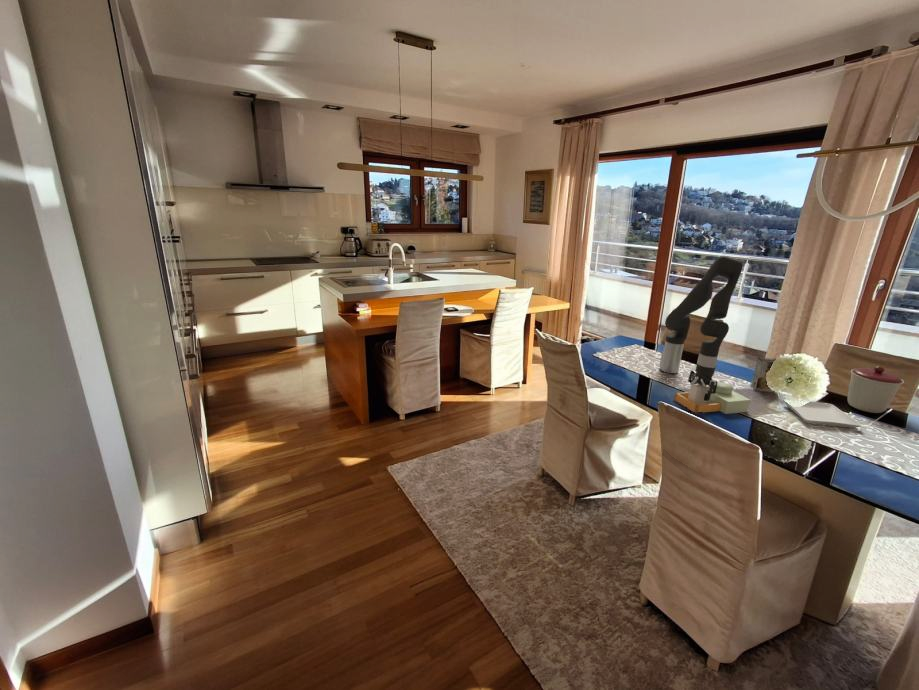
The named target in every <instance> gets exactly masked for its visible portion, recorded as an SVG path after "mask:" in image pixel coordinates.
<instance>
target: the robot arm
mask: <svg viewBox="0 0 919 690" xmlns="http://www.w3.org/2000/svg"><path fill="white" fill-rule="evenodd" d="M743 264H744V263H743V261H742V260H739V259H737V258H734V257H730V256H727V255H724V254H722V255H719V256H718V257H717V258H716V259H715V260H714V262H713V263H712V264H711V265H710V267H709V268H708V270H707V271H706V272H705V274H704V275H703V277H702V278H701V279H700V280H699V281H698V283H697V284H696V285H695V286H694V287H693V288H692V290H690V291H689V293H688V294H687V295H686V297H685V298H684V299H683V300H682V301H681V303H680V304H679V305H678V306H677V307H675V308H674V309H673V310H672V311H671V312H670V313H669V314H667V316H666V318H665V321H664V324H665V325H664V326H665V327H666V329H667V330H669V331H670V330H671V331H673V332H672V333H670V334H668V335H666V337H665V341H664V342H665V343H664V347H663V352H662V353H661V356H660V361H659V362H660V363H659V366H658V368H659V367H660V368H659V370H660V369H661V370H662V371H664V372H663V373H665V372H667V373H666V374H669V373H677V374H678V373H679V369H680V366H681V360H682V355H683V350H684V345H685V342H686V339H687V337H688V333H689V330H690V326H691V317H690V314H692V313H694V312H696V311H698V310H699V309H702V308H703V307H705V305H706V304H707V303H708V302H709V301H710V300H711V302H710V305H709V310H708V313H707V315H706V317H705V319H704V320H703V321H702V323H701V325H700V329H699V330H700V333H701V334H702V335H703V336H705V337H706V336H707V337H711V338H715V339H712V340H704V341H702V342H701V346H700V351H699V355H698V358H697V362H696V366H695V370H690V371H689V376H688V380H687V381H688V383H690V385H691V384H701V385H702V386H703V388H704V389H705V392H706V393H705V396H704V400H705V401H708V400H709V399H710V396H711V394H715V393H716V388H717V383H718V382H719V381H717V380H713V376H714V375H715V372H716V367H717V363H718V357H719V352H720V348H721V345H722V343H723V341H724V339H725V338H726V336H727V335H728V333H729V330H730V326H729V324H728V323H727V322H725V321H719V320H722V319H725V318H726V317H727V315H728V311H729V307H730V303H731V300H732V299H731V298H732V296H733V293H734V291H735V289H736V286H737V284H738V281H739V279H740V277H741V273H742V270H743V266H744V265H743ZM717 276H718V277H721V278H724V279H727V283H726V284H725V285H724V287H723V288H721V289H720V290H718V292H716V293H715V295H714V296H713V291H714V290H713V289H714V288H713V281H714V279H715V277H717ZM661 370H660V371H661ZM662 371H661V372H662ZM707 385H708V386H707ZM708 389H709V391H708ZM712 390H713V391H712Z"/></svg>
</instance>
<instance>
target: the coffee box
mask: <svg viewBox="0 0 919 690" xmlns="http://www.w3.org/2000/svg"><path fill="white" fill-rule="evenodd" d="M776 359H777V358H775V357H774V358H773V357H762V356H761V357H760V356H758V357H757V360H756V364H755V368H754V372H753V375H752V376H753V377H752V380H751V384H750V386H751V387H752V389H753V390H754V391H759V392H767V393H768V392H769V393H774V392H773V391H772V390H771V389H770V388H769V387H768V385H767V381H766V373H767V372H768V371H769V370H770V368H771V366H772V364H773V362H774V361H775V360H776Z"/></svg>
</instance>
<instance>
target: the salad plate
mask: <svg viewBox="0 0 919 690" xmlns="http://www.w3.org/2000/svg"><path fill="white" fill-rule="evenodd" d="M784 399H785V398H782V399H781V400H782V402H783V403H784V405H786V406H787V407H788V408H789V409H790V410H791V411H792V412H794V413H795V414H796V415H797V416H798V417H800V418H801V419H802V421H804V422H805V423H808V424H812V425H813V424H814V425H821V426H831V427H839V428H840V427H841V428H851V429H853V428H854V429H855V428H859V427H861V426H862V424H861V423H859V422H858V421H856V420H855V419H854V418H852V417H851V416H849V415H848V414H847V413H845V412H844V411H843V410H841V409H839V408H838V407H837V406H835V405H834V404H832V403H827V402H819V401H811V402H809V403H807V404H805V405H803V406H801V407H792V406H791V405H789V404H788V403H787V402H785V401H784Z"/></svg>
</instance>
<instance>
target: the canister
mask: <svg viewBox="0 0 919 690" xmlns="http://www.w3.org/2000/svg"><path fill="white" fill-rule="evenodd" d="M850 373H851V376H850V381H849V386H848V392H847V403H848V405H849V406H850V407H852V408H854V409H856V410H859V411H862V412H867V413H871V414H882V413H884V412H885V411H886V410H887V409H888V408H889V406H890V404H891V403H892V401H893V400H894V398H895V397H896V394H897V393H898V391H899V389H900V387H901V386H902V385H903V384H904V383H905V381H904V379H902V378H901V377H900V376H898V375H897V374H894V373H891V372H889V371H886V370H885V368H884V367H883V366H881V365H876V366H874V367H873V368H869V367H857V368H852V369H851V370H850Z"/></svg>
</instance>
